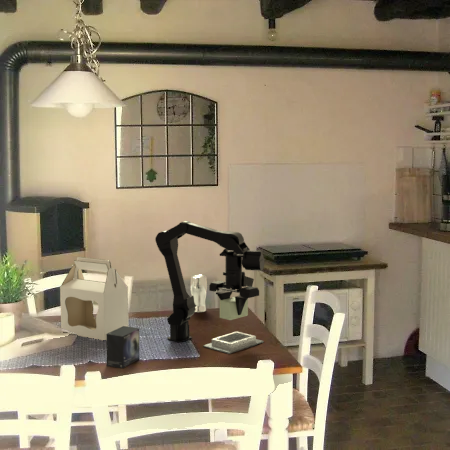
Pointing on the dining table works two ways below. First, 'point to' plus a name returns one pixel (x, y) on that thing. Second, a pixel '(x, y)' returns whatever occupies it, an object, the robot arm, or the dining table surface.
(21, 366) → the dining table surface
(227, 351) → the collar
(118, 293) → the gable box
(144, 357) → the dining table surface
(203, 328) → the dining table surface
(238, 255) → the robot arm
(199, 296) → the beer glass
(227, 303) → the green block
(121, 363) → the small box
